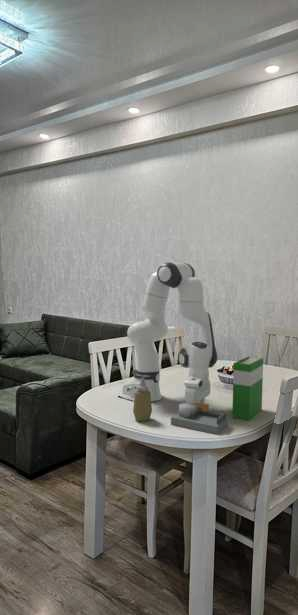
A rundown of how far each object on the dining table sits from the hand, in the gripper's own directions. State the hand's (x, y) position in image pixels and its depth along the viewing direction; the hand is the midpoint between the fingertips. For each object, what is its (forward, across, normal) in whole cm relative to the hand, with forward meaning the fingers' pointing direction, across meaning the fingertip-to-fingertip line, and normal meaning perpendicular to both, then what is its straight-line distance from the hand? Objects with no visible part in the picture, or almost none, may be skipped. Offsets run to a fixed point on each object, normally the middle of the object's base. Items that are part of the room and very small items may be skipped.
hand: (198, 409), depth 180 cm
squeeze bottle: (+2, +20, -17) cm, 26 cm away
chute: (+2, 0, 0) cm, 2 cm away
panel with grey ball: (+2, +13, +6) cm, 14 cm away
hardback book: (+2, -11, +19) cm, 22 cm away
